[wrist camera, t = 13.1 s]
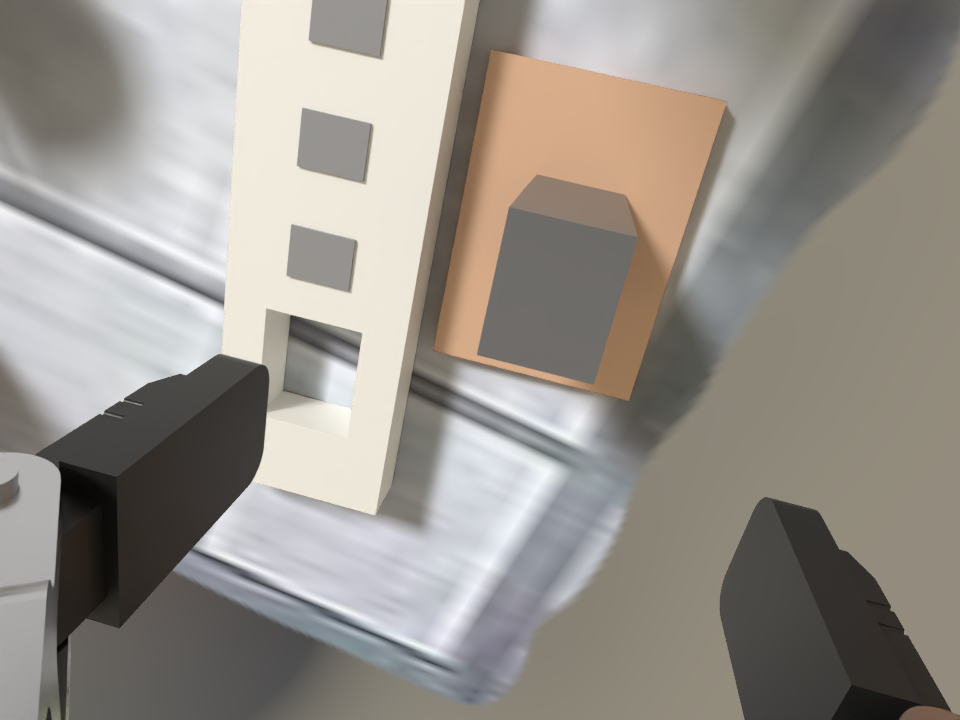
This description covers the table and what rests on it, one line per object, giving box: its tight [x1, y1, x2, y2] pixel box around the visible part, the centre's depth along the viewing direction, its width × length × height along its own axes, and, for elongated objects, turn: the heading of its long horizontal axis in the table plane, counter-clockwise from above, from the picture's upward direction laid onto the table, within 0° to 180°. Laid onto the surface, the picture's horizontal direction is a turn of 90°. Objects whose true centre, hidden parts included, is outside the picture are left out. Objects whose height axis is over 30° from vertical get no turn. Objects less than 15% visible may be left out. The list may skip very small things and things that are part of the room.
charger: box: [477, 175, 638, 385], centre depth 26 cm, size 5×4×10 cm
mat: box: [433, 49, 727, 401], centre depth 31 cm, size 14×10×1 cm
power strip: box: [222, 0, 480, 515], centre depth 31 cm, size 28×9×3 cm, turn 168°
